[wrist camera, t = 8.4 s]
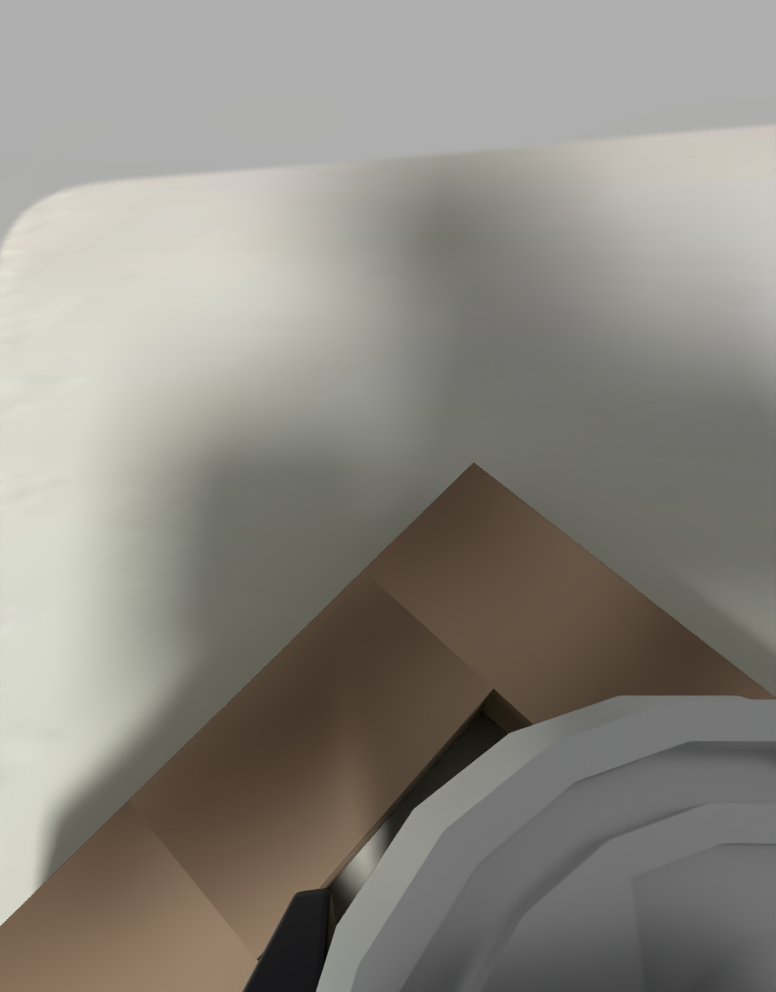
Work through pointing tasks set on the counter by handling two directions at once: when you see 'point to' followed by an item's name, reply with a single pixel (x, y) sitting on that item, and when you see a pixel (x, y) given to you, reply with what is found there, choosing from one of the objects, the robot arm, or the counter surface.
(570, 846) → the beer can
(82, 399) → the counter surface
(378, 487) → the counter surface
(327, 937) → the robot arm
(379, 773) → the hole board
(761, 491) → the counter surface
